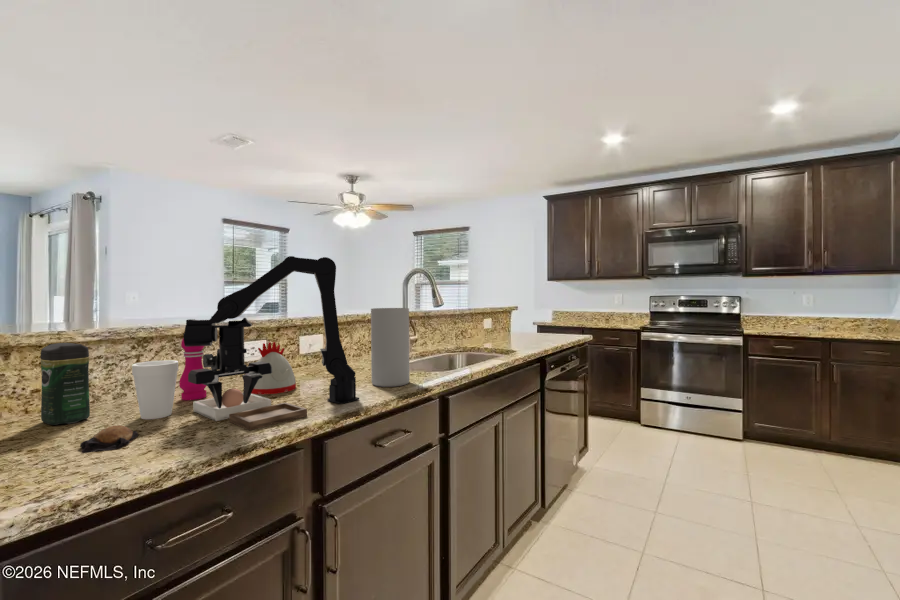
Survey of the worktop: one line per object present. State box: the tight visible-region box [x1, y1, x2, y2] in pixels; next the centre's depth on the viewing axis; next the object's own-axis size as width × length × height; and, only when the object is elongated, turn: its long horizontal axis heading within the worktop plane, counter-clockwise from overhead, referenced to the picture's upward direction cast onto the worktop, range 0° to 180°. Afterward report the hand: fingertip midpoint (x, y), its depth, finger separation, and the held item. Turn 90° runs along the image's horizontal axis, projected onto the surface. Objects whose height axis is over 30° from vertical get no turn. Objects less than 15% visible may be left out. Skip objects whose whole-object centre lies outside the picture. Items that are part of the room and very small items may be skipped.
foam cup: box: [131, 359, 179, 420], centre depth 105 cm, size 10×9×13 cm
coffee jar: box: [39, 342, 91, 426], centre depth 101 cm, size 10×8×19 cm
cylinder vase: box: [370, 307, 410, 388], centre depth 142 cm, size 12×12×25 cm
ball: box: [222, 388, 243, 407], centre depth 110 cm, size 5×5×5 cm
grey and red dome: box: [251, 341, 297, 395], centre depth 134 cm, size 14×14×15 cm
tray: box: [228, 402, 308, 431], centre depth 102 cm, size 14×10×2 cm
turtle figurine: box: [79, 424, 139, 454], centre depth 86 cm, size 11×8×4 cm
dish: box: [192, 392, 272, 422], centre depth 110 cm, size 14×14×2 cm
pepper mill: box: [178, 337, 208, 401], centre depth 124 cm, size 7×7×20 cm
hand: (232, 405), depth 110 cm, fingers open, 6 cm apart
